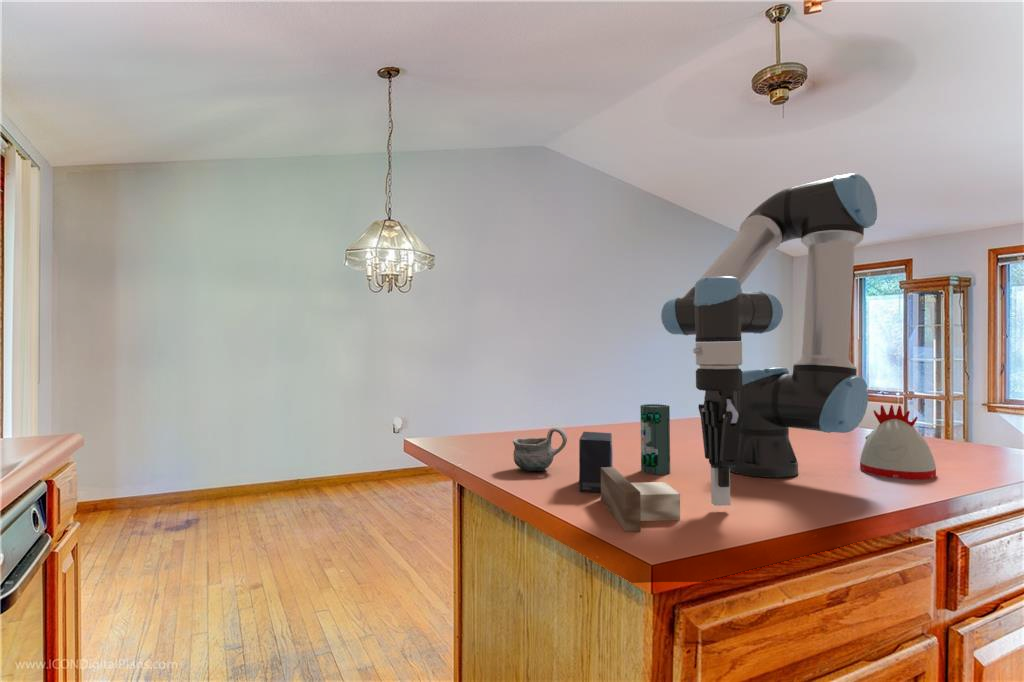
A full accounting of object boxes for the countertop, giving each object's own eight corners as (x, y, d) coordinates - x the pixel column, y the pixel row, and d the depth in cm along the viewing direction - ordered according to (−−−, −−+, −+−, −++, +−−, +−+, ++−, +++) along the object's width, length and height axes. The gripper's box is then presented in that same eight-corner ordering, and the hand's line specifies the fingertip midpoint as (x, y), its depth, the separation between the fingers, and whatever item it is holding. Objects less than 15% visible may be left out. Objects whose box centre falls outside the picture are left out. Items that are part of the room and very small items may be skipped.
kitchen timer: (868, 463, 134) (867, 400, 134) (940, 471, 124) (938, 404, 124) (853, 473, 124) (852, 405, 124) (930, 483, 114) (928, 410, 114)
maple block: (664, 507, 99) (664, 482, 99) (680, 521, 91) (679, 494, 91) (620, 508, 99) (620, 482, 99) (632, 522, 91) (631, 494, 91)
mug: (513, 465, 134) (513, 424, 134) (565, 465, 134) (565, 423, 134) (512, 475, 125) (511, 430, 125) (568, 474, 124) (568, 429, 124)
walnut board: (613, 499, 104) (613, 467, 104) (640, 531, 86) (640, 492, 86) (600, 499, 104) (600, 467, 104) (625, 531, 86) (624, 492, 86)
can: (638, 469, 129) (637, 404, 129) (663, 468, 130) (662, 404, 130) (647, 475, 123) (646, 407, 123) (673, 474, 124) (673, 406, 124)
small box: (612, 494, 108) (611, 439, 108) (578, 492, 109) (577, 438, 109) (613, 481, 118) (612, 431, 118) (582, 479, 120) (581, 431, 120)
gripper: (683, 366, 102) (685, 494, 102) (712, 369, 89) (714, 516, 89) (723, 365, 103) (726, 493, 102) (758, 368, 90) (760, 515, 89)
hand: (720, 504), depth 96 cm, fingers closed
